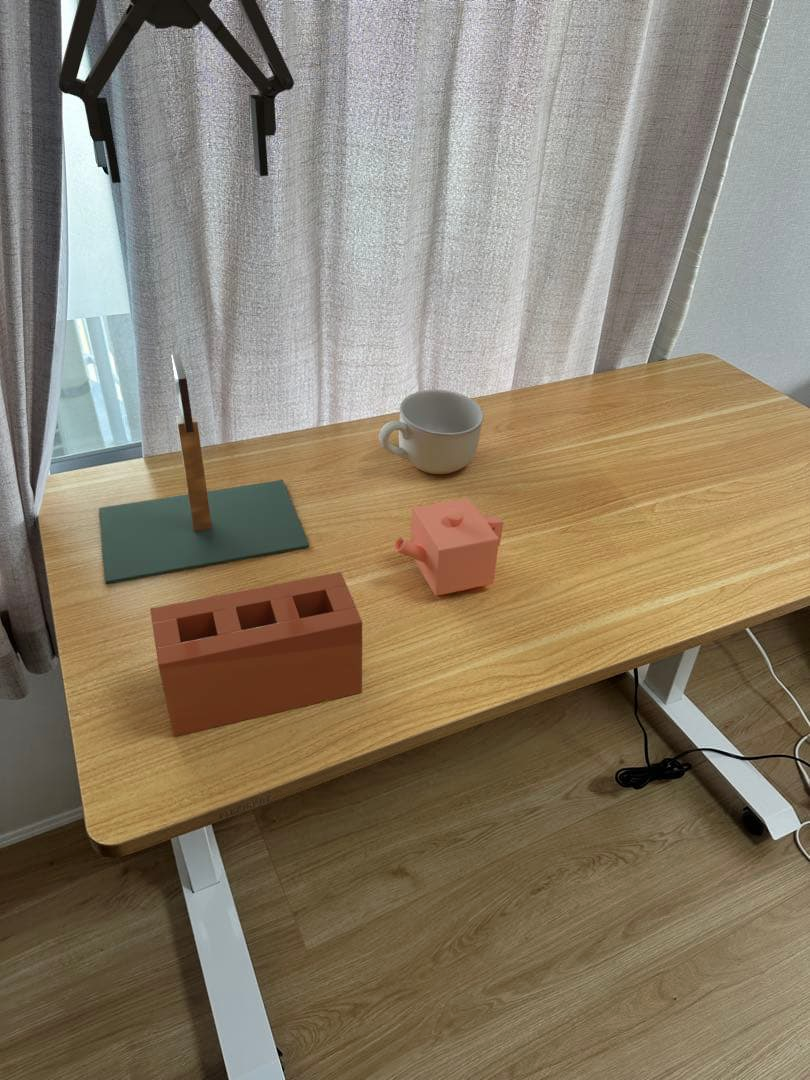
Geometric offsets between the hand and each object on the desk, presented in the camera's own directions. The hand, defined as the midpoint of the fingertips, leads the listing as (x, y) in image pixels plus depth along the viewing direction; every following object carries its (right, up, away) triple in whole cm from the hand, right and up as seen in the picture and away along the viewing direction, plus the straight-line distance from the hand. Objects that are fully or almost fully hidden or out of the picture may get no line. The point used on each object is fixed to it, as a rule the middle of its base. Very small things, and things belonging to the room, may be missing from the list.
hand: (190, 176), depth 77 cm
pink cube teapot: (+25, -39, +12) cm, 47 cm away
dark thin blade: (-3, -33, +17) cm, 37 cm away
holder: (+7, -48, -2) cm, 49 cm away
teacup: (+23, -25, +30) cm, 45 cm away
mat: (-3, -33, +17) cm, 37 cm away
